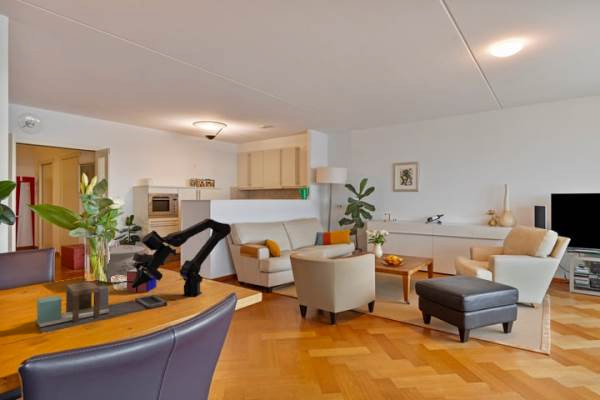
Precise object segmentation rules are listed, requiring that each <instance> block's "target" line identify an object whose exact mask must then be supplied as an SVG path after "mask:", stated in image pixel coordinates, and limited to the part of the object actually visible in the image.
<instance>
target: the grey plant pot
mask: <svg viewBox="0 0 600 400" xmlns="http://www.w3.org/2000/svg"><path fill="white" fill-rule="evenodd" d="M108 246H109V252H110V260H109V263H108V264H107V270H106V273H105V274H106V278H107V282H108V283H107V284H112V283H111V277H112V276H115V275H117V274H118V275H125V276H127V271H130V270H132V269H134V268H135V267H133V266H132V265H133V264H134V263H135V262H137V261H134V260H132V259H133V257H134V255H135V253H138V254H141V252H143V251H144V250H145V247H144V246H140V245H134V244H133V245H132V244H120V242H118V241H117V242H115V243H114V244H113V245H108ZM141 263H142V262H141Z"/></svg>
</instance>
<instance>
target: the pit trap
mask: <svg viewBox="0 0 600 400" xmlns="http://www.w3.org/2000/svg"><path fill="white" fill-rule="evenodd" d="M134 301H135V302H136V303H138V304H140V305H141V306H143V307H144V308H145V310H147V311H148V310H152V309H158V308H163V307H166V306H168V301H166V300H165V299H162V298H161V297H159V296H157V295H155V294H151V295H144V296H141V297H136V298H134Z"/></svg>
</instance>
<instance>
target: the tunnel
mask: <svg viewBox="0 0 600 400" xmlns="http://www.w3.org/2000/svg"><path fill="white" fill-rule="evenodd" d="M98 286H99V285H97V284H96V283H94V282H93V281H84V282H77V283H70V284H66V285H65V289H66V291H65V295H66V296H65V301H66V302H65V313H67V312H72V311H73V323H75V322H79V310H82V309H87V308H92V305H93V307H94V318H98V317H99V293H100V287H98ZM92 293H93V295H92ZM92 296H93V297H92ZM92 298H93V299H92ZM92 300H93V304H92Z"/></svg>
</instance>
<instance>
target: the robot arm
mask: <svg viewBox="0 0 600 400" xmlns="http://www.w3.org/2000/svg"><path fill="white" fill-rule="evenodd" d="M208 229H210V230H212V231H211V235H210V237H209V238H208V239H207V240H206V242H205V243H204V244H203V245H202V247H201V248H200V249H199V251H198V252H197V253H196V254H195V256H194V257H193V258H192V259H190V260H188V259H186V260H185V261H184V263H183V264H182V265H181V266H180V269H179V275H180V277H181V278H182V279H183V281H184V284H183V294H182V296H183V297H198V296H199V295H201V294H202V293H203V292H202V291H201V283H202V281H203V279H204V278H203V277H202V275H200V274H199V273H200V271H201V269H202V265H203V263H204V262H205V260H206V259H207V258H208V257H209V256H210V254H211V253H212V252H213V250H214V249H215V248H216V246H217V245H218V243H219V242H220V241H222V240H223V239H225V238H226V237H227V236H229V235H230V234H231V231H232V228H231V225H230V224H229V223H225V222H220V221H217V220H214V219H212V218H205V219H203V220H202V221H200V222H198V223H195V224H193V225H191V226H190V227H187V228H186V229H183V230H182V229H181V230H177V231H173V232H170V233H168V234H167V235H166V236H161V235H159V233H158V232H157V231H155V230H152V231H151V232H148V234H146V235H144V237H142V239H141V240H140V241H141V243H142V244H143V245H144V246H146V247H147V249H149V250H150V251H155V252H153V254H148V253H145V252H143V253H142V254H141V253H140V254H138V253H135V255H134V257H133V259H132V260H134V261H137V262H135V263H134V264H133V265H132V266H133V267H135V268H136V270H137V276H136V278H135V280H134V282H133V284H132V286H131V287H132V288H136V287H138V286H140V285H141V284H143V283H145V282H148V281H150V280H153V279H152V277H153V276H154V277H155V278H156V281H157V282H159V281H161V280H162V278H163V273H162V272H161V271H159V268H160V267H161V266H164V265H165V263H164V262H165V261H166V260H167V259H168V258H169V257H170V256H171V255H172V256H177V249H176V248H179V247H181V246H182V245H184V244H185V243H186V242H187V241H188V240H189V239H190V238H192V237H195V236H196V235H198V234H199V233H200V234H201V233H202V232H204V231H206V230H208ZM172 247H174V248H172ZM141 262H142V263H141Z"/></svg>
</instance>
